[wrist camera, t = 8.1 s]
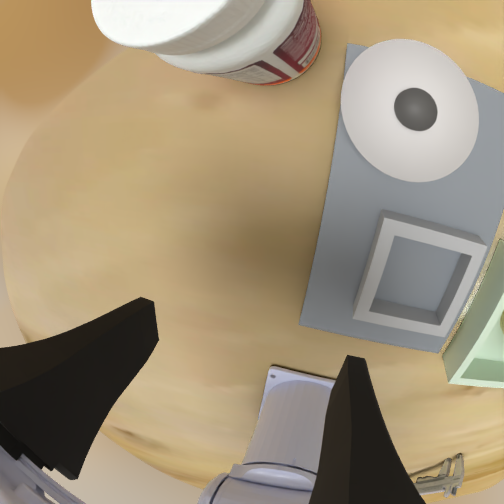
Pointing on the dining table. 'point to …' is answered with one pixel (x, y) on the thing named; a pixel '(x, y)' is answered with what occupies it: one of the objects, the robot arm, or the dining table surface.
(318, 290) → the board
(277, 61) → the pill bottle
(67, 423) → the robot arm
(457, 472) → the caliper
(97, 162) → the dining table surface
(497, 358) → the tray
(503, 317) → the lock pin
